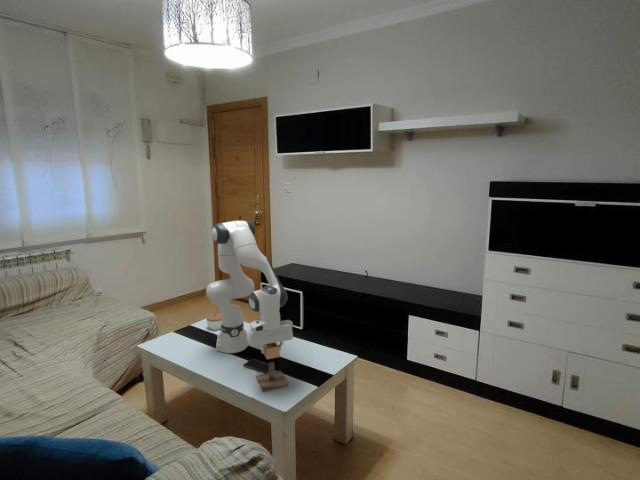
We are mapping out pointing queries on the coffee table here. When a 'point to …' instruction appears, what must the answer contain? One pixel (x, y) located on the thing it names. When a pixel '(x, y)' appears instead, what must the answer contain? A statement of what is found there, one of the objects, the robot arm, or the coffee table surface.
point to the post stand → (271, 379)
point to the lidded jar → (214, 321)
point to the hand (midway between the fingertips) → (271, 351)
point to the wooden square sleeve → (271, 350)
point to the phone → (257, 366)
